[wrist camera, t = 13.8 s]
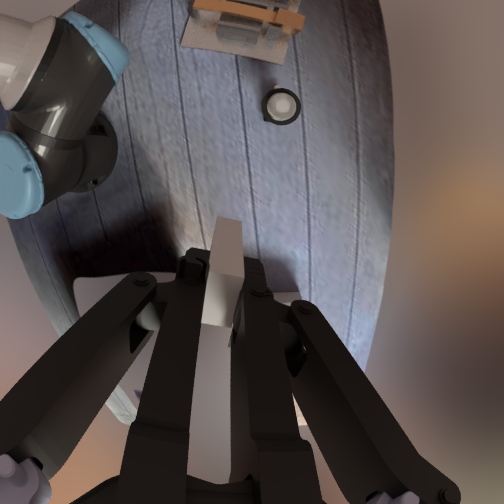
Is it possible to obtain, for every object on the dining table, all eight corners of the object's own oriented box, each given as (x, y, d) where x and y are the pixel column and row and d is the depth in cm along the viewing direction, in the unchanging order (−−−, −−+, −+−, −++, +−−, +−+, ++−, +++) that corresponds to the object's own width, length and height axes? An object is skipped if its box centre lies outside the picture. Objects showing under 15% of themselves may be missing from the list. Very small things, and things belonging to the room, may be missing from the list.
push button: (260, 84, 41) (266, 75, 32) (292, 89, 42) (306, 82, 33) (254, 121, 44) (259, 121, 35) (286, 126, 44) (299, 128, 36)
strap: (298, 21, 33) (305, 15, 30) (294, 35, 34) (301, 30, 31) (197, -2, 29) (196, -10, 26) (192, 12, 31) (191, 5, 28)
